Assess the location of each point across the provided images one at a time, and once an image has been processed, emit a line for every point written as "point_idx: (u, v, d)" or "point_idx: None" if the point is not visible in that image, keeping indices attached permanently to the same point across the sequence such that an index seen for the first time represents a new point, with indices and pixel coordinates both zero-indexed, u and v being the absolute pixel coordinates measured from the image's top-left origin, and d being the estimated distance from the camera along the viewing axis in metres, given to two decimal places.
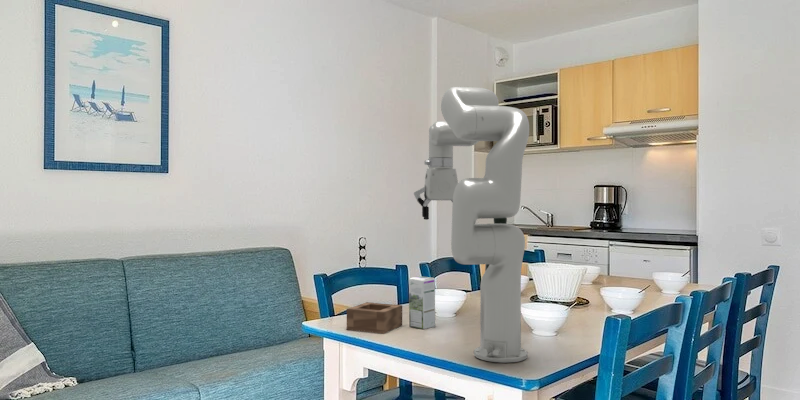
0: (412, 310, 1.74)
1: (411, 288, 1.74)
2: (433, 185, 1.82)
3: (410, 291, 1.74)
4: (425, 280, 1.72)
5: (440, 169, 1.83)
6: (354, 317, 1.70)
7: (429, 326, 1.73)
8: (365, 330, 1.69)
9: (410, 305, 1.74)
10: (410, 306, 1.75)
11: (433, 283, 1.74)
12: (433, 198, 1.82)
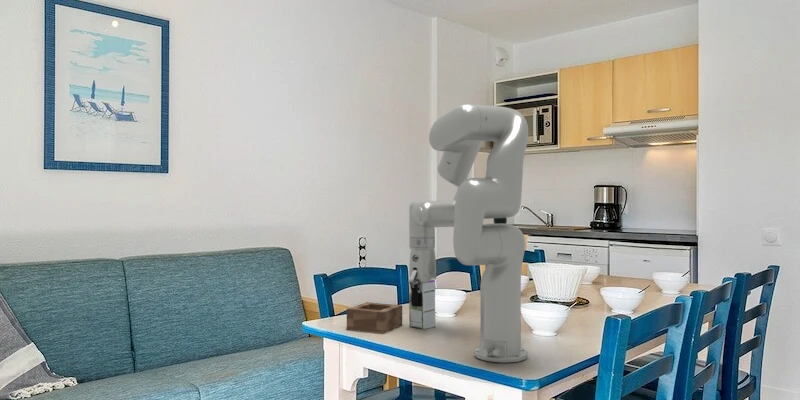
0: (412, 310, 1.74)
1: None
2: (426, 268, 1.71)
3: (410, 291, 1.74)
4: None
5: (429, 249, 1.73)
6: (354, 317, 1.70)
7: (429, 326, 1.73)
8: (365, 330, 1.69)
9: (410, 305, 1.75)
10: (410, 306, 1.75)
11: (433, 283, 1.75)
12: (426, 281, 1.71)
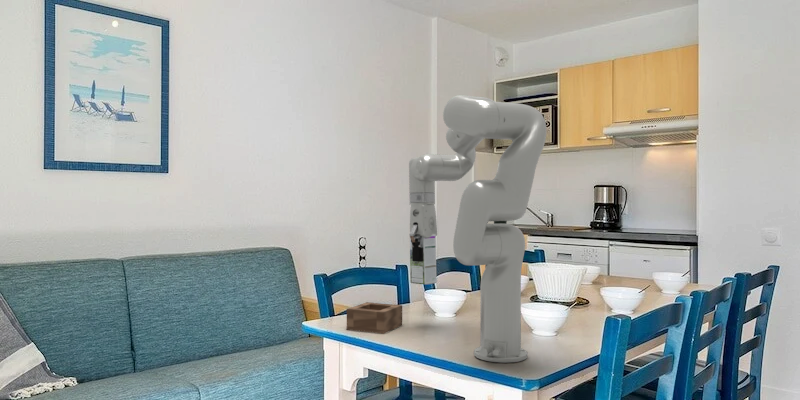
0: (413, 266, 1.73)
1: None
2: (426, 222, 1.70)
3: (411, 247, 1.74)
4: None
5: (429, 205, 1.73)
6: (354, 317, 1.70)
7: (430, 282, 1.72)
8: (365, 330, 1.69)
9: (411, 261, 1.74)
10: (411, 262, 1.74)
11: (434, 239, 1.74)
12: (426, 236, 1.70)
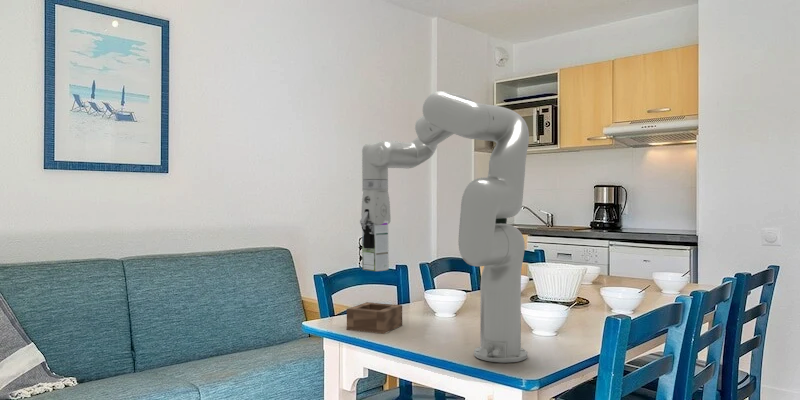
0: (365, 253, 1.73)
1: None
2: (378, 209, 1.70)
3: (363, 234, 1.73)
4: None
5: (381, 192, 1.72)
6: (354, 317, 1.70)
7: (382, 269, 1.72)
8: (365, 330, 1.69)
9: (363, 248, 1.73)
10: (363, 249, 1.73)
11: (386, 226, 1.73)
12: (378, 223, 1.70)
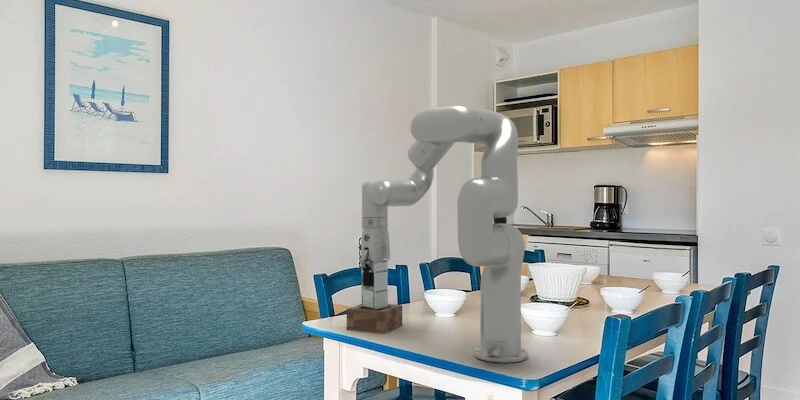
0: (364, 290, 1.73)
1: None
2: (377, 248, 1.70)
3: None
4: None
5: (381, 229, 1.72)
6: (354, 317, 1.70)
7: (381, 306, 1.72)
8: (365, 330, 1.69)
9: (362, 285, 1.73)
10: (362, 286, 1.73)
11: (386, 263, 1.73)
12: (377, 261, 1.70)
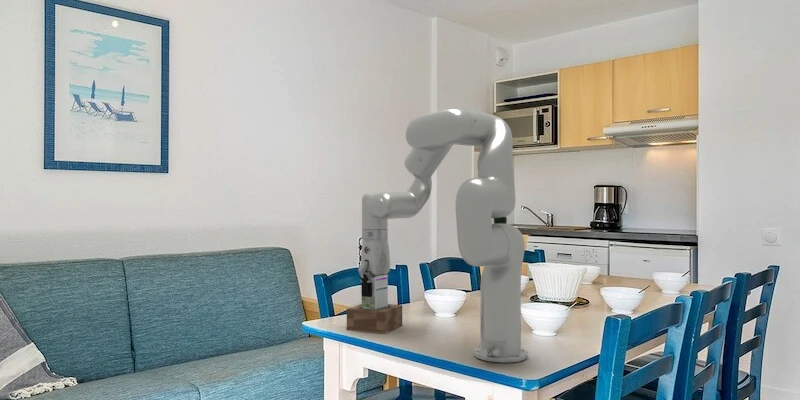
0: (364, 308, 1.72)
1: None
2: (377, 260, 1.70)
3: None
4: (377, 277, 1.71)
5: (381, 241, 1.72)
6: (354, 317, 1.70)
7: None
8: (365, 330, 1.69)
9: (362, 303, 1.73)
10: (362, 304, 1.73)
11: (386, 280, 1.73)
12: (377, 273, 1.70)
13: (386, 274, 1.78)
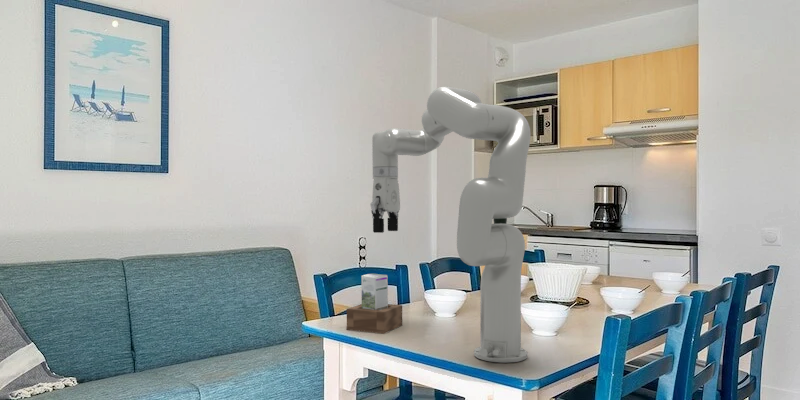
0: (364, 308, 1.72)
1: (363, 285, 1.72)
2: (388, 196, 1.72)
3: (362, 288, 1.73)
4: (377, 277, 1.71)
5: (392, 179, 1.74)
6: (354, 317, 1.70)
7: None
8: (365, 330, 1.69)
9: (362, 303, 1.73)
10: (362, 304, 1.73)
11: (386, 280, 1.73)
12: (389, 209, 1.72)
13: (396, 213, 1.80)
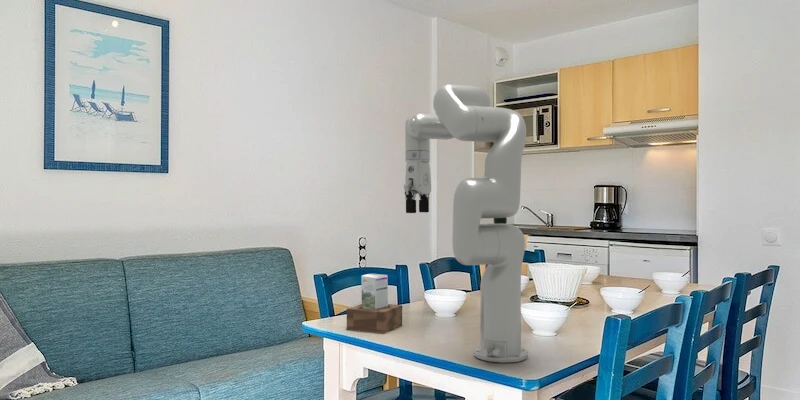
0: (364, 308, 1.72)
1: (363, 285, 1.72)
2: (421, 178, 1.80)
3: (362, 288, 1.73)
4: (377, 277, 1.71)
5: (424, 162, 1.82)
6: (354, 317, 1.70)
7: None
8: (365, 330, 1.69)
9: (362, 303, 1.73)
10: (362, 304, 1.73)
11: (386, 280, 1.73)
12: (421, 191, 1.80)
13: (427, 195, 1.88)
